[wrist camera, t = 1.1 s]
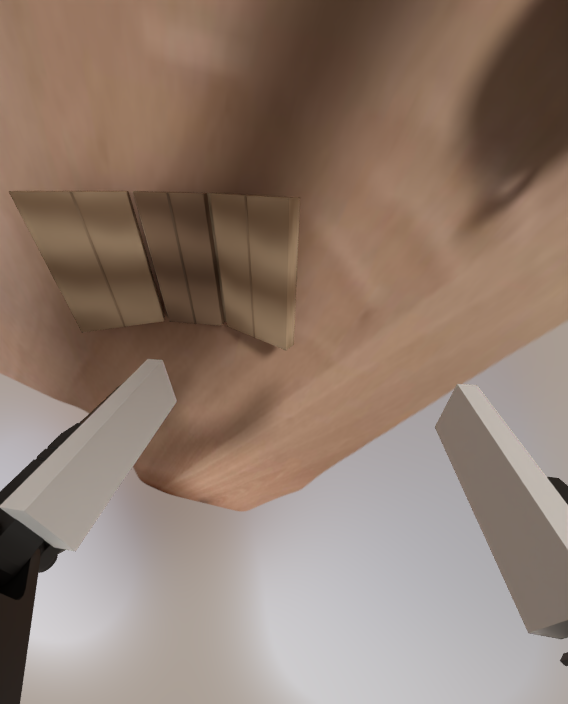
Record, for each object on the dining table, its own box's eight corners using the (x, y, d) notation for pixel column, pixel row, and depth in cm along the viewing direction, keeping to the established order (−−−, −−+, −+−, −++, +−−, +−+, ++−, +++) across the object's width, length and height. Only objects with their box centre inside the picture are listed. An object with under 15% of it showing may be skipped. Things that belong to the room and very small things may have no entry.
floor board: (135, 191, 25) (125, 191, 24) (216, 193, 24) (210, 193, 23) (169, 315, 33) (163, 321, 32) (232, 320, 32) (228, 326, 31)
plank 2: (222, 193, 24) (209, 193, 23) (300, 197, 20) (288, 198, 19) (236, 321, 32) (227, 326, 31) (293, 344, 28) (285, 350, 27)
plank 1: (17, 190, 22) (8, 191, 21) (128, 191, 25) (126, 191, 24) (85, 326, 30) (81, 332, 29) (164, 316, 33) (164, 321, 32)
